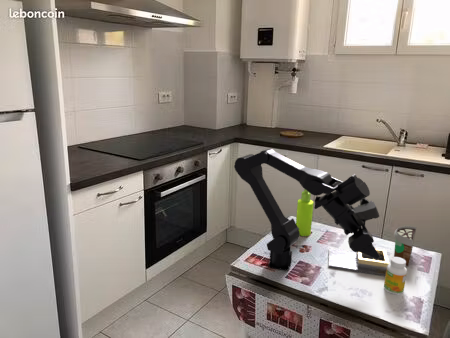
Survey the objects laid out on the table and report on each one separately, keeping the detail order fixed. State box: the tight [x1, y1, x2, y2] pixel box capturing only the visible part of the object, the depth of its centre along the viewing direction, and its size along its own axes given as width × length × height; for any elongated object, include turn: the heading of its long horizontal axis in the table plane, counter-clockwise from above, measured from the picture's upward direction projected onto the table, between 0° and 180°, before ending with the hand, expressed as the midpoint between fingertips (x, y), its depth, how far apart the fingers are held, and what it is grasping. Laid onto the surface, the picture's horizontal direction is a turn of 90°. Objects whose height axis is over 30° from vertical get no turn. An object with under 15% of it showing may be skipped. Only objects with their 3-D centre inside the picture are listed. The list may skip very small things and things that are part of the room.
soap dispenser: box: [295, 188, 315, 237], centre depth 143 cm, size 6×7×20 cm
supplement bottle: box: [383, 256, 408, 295], centre depth 110 cm, size 5×5×10 cm
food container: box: [393, 225, 417, 267], centre depth 128 cm, size 12×6×10 cm, turn 149°
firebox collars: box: [328, 247, 390, 277], centre depth 125 cm, size 19×12×4 cm, turn 74°
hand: (375, 249), depth 109 cm, fingers open, 9 cm apart
